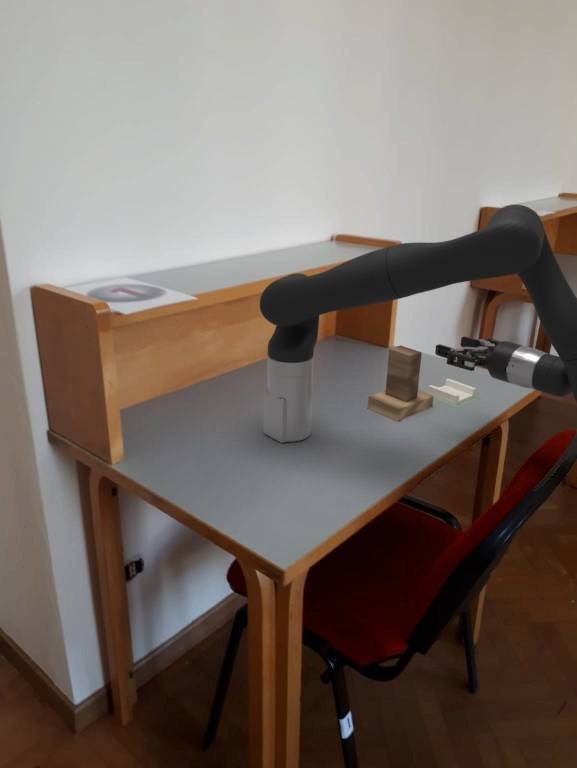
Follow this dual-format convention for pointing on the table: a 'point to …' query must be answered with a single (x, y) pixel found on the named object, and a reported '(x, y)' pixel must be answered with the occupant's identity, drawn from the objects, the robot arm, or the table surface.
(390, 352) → the tall wooden pillar
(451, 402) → the rack
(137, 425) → the table surface
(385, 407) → the flat wooden block
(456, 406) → the mat
